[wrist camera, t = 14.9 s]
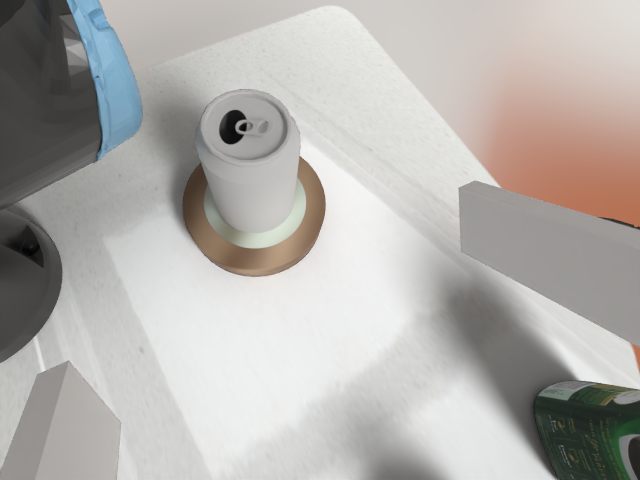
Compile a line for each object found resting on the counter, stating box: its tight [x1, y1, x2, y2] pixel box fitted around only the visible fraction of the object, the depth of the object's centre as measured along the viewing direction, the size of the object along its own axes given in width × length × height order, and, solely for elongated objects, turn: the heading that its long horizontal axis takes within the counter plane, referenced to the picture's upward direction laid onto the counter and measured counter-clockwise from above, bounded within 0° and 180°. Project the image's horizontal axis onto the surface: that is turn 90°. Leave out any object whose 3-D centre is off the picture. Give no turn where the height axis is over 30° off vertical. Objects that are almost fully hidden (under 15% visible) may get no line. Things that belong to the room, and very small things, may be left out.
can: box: [195, 89, 300, 233], centre depth 29 cm, size 8×8×12 cm
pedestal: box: [183, 156, 326, 277], centre depth 36 cm, size 14×14×3 cm
